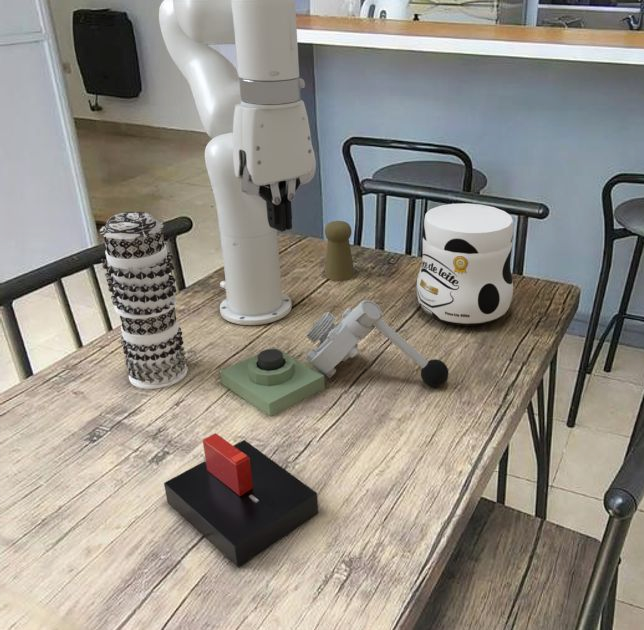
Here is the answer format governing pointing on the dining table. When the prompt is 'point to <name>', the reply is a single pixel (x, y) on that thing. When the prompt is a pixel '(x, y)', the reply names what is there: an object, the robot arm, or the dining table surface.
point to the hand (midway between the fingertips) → (280, 227)
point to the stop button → (270, 359)
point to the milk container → (466, 264)
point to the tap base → (242, 506)
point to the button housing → (272, 383)
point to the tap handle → (228, 464)
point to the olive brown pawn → (338, 251)
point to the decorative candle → (144, 299)
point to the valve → (354, 327)
